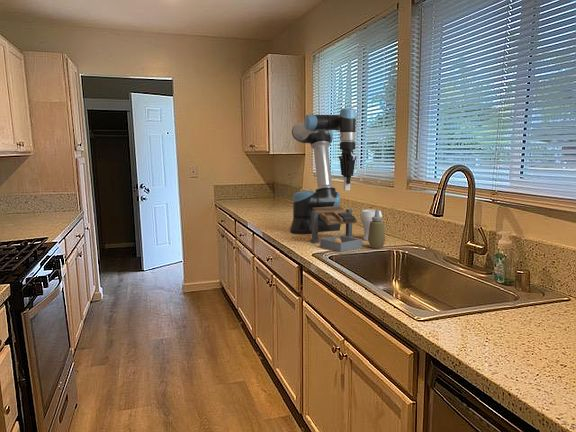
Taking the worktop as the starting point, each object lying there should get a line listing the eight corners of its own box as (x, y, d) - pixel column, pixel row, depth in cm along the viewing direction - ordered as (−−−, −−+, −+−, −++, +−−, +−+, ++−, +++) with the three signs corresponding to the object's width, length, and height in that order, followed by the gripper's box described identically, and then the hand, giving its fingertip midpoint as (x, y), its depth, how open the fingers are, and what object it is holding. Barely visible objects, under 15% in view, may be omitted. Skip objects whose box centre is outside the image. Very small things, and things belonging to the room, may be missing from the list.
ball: (334, 249, 196) (333, 244, 193) (332, 241, 199) (331, 237, 195) (342, 247, 196) (342, 242, 193) (340, 240, 198) (340, 235, 195)
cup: (381, 241, 210) (382, 212, 208) (360, 241, 212) (360, 211, 210) (381, 237, 220) (381, 209, 218) (360, 237, 223) (361, 209, 220)
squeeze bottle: (385, 246, 201) (386, 208, 198) (384, 249, 193) (385, 211, 190) (368, 245, 203) (369, 208, 201) (366, 248, 196) (367, 210, 193)
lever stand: (309, 241, 213) (309, 211, 211) (349, 237, 222) (350, 208, 219) (313, 243, 208) (313, 212, 206) (354, 239, 217) (355, 209, 215)
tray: (320, 246, 200) (320, 238, 199) (341, 243, 208) (341, 235, 208) (340, 252, 189) (340, 243, 188) (362, 247, 197) (362, 239, 197)
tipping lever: (309, 229, 221) (312, 205, 215) (336, 227, 227) (340, 203, 221) (324, 245, 206) (328, 220, 200) (352, 243, 212) (357, 218, 206)
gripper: (334, 141, 207) (333, 189, 210) (347, 141, 195) (347, 191, 198) (347, 141, 210) (346, 189, 213) (361, 141, 198) (360, 191, 201)
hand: (346, 190), depth 206 cm, fingers closed
